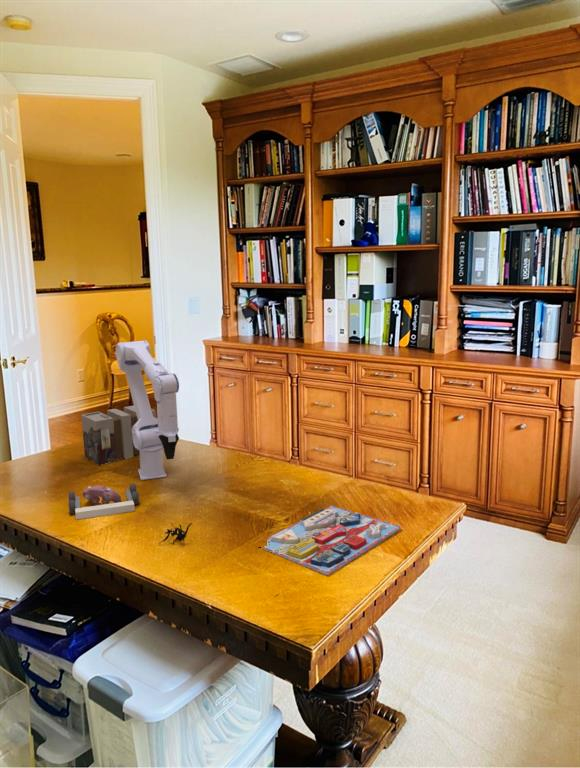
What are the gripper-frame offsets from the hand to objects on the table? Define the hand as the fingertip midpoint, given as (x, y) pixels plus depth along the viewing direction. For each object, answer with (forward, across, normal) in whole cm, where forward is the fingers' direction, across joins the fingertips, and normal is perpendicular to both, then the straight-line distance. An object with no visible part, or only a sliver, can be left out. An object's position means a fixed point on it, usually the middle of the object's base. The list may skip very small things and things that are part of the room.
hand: (169, 458), depth 184 cm
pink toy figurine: (+10, +4, -20) cm, 23 cm away
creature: (+10, +36, -5) cm, 37 cm away
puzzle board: (+10, +48, +32) cm, 59 cm away
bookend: (+10, -40, -12) cm, 43 cm away
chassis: (+9, +7, -20) cm, 23 cm away
